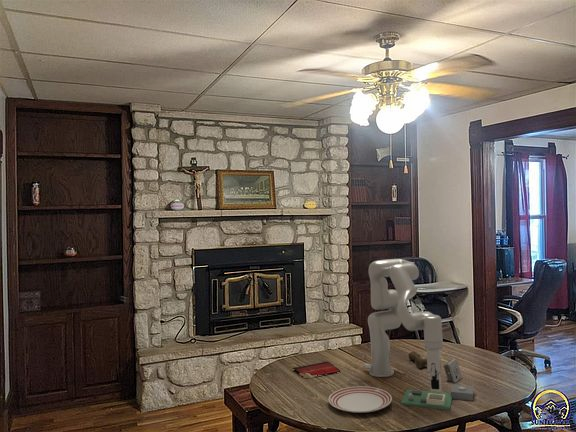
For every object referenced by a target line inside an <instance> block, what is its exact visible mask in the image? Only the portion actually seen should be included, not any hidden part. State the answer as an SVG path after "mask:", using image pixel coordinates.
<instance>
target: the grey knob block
mask: <svg viewBox="0 0 576 432" xmlns="http://www.w3.org/2000/svg"><path fill="white" fill-rule="evenodd" d="M450 393H451V396H452V400H460V401H461V400H463V401H472V402H473V401H474V386H472V385H471V386H470V385H469V386H468V385H459V384H451V389H450Z"/></svg>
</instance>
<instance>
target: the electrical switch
mask: <svg viewBox="0 0 576 432" xmlns="http://www.w3.org/2000/svg"><path fill="white" fill-rule="evenodd" d="M443 369H444V371H445V375H446V378H447V381H448V382H452V383H454V384H456V383H457V382H459V380H461V379H462V378H463V375H462V372H461V369H460V365H459V363H458V360H457V358H454V359H452V360H450V361H448V362H446V363H445V364H444V365H443Z"/></svg>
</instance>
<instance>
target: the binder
mask: <svg viewBox="0 0 576 432" xmlns="http://www.w3.org/2000/svg"><path fill="white" fill-rule="evenodd" d="M292 369H295V370H296V373H302V374H303V373H304V374H305V373H310V374H311V375H317V376H318V375H324V376H326V375H325V374H329V375H332V374H331V373H336V374H338V373H337V372H340V371H341V369H339V368H337V367H336V366H335V365H334V364H332V363H331V362H329V361H323V362H318V363H311V364H306V365H302V366H296V367H293V368H292ZM340 373H341V372H340Z"/></svg>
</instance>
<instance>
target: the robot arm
mask: <svg viewBox="0 0 576 432" xmlns="http://www.w3.org/2000/svg"><path fill="white" fill-rule="evenodd" d="M367 272H368V276H369V277H368V278H369V281H370V305H371V308H372V309H374V310H377V311H375V312H372V313H370V314H369V315H368V317H367V324H368V328H369V337H370V350H371V351H370V353H371V354H370V356H371V357H370V358H371V360H370V361H371V363H369V364H367V363H364V364H363V368H364V369H365V370H366V369H367V370H369V371H368V374H369V375H370V376H372V377H374V378H375V377H376V378H389V377H392V376H393V375H394V374H395V372H394V371H395V370H394V369H392V366H391V347H390V346H391V345H390V337H389V335H388V334H387V333H386V331H388V330H394V329H398V328H400V326H401V325H402V326H403V327H404V328H405V329H406V330H407V331H410V332H414V331H420V330H423V337H424V339H423V340H424V349H426V359H427V365H426V368H427V369H426V371H427V373H429V374H430V372H431V388H432V389H439V380H438V373H439V372H440V371H441V367H442V366H441V365H442V359H441V358H442V356H441V355H442V354H441V353H442V352H441V350H443V349H444V343H443V342H444V341H443V323H442V317H441V316H440V315H439V314H434V313H432V312H430V311H418V312H417V311H416V312H411V313H410V311H409V309H408V306H407V302H408V301H409V300H411V299H412V298H413V297H414V296H416V294H417V292H418V291H417V288H416V287H417V286H415V283H414V280H415V281H416V280H417V279H418V278H419V275H420V271H419V268H418V267H417V265H416V264H415V263H413V261H412V262H411V261H409V260H407V259H403V258H390V259H378V260H374V261H372V262H371V263H370V264H369V266H368V271H367ZM385 277H386V278H385ZM388 277H389V278H390V281H391V282H392V284H393V287H394V289H388V288H389V287H388V286H389V285H388V281H387V278H388ZM436 371H437V372H436ZM435 374H436V375H435Z"/></svg>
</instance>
